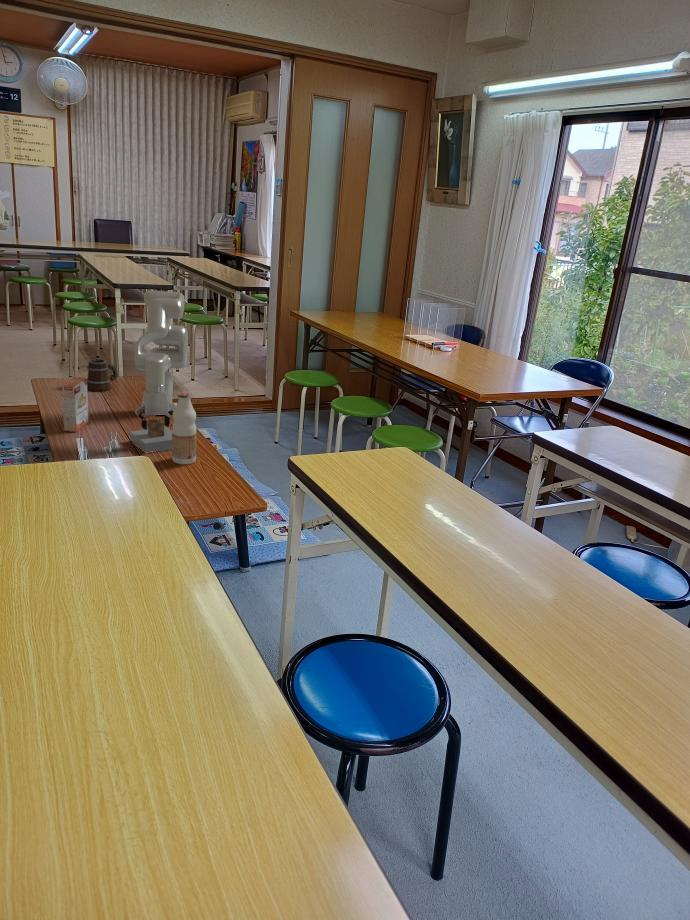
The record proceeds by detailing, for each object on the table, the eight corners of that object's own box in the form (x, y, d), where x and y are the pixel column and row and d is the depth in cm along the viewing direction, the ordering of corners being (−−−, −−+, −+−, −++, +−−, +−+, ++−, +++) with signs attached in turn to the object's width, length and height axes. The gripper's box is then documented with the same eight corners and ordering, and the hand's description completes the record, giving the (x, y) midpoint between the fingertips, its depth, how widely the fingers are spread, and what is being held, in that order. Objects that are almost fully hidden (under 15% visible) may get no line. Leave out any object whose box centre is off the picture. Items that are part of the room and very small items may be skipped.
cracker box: (77, 432, 291) (74, 385, 283) (63, 431, 291) (60, 384, 283) (89, 422, 304) (87, 377, 296) (76, 421, 304) (73, 376, 296)
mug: (90, 392, 345) (88, 364, 340) (84, 386, 354) (82, 358, 349) (121, 390, 354) (120, 362, 348) (114, 384, 363) (113, 357, 357)
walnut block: (159, 432, 287) (159, 418, 285) (164, 435, 284) (164, 422, 281) (147, 433, 284) (147, 420, 282) (152, 437, 281) (152, 424, 278)
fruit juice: (176, 466, 266) (176, 397, 256) (168, 457, 274) (168, 391, 264) (199, 463, 271) (200, 396, 261) (191, 455, 278) (191, 389, 268)
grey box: (166, 437, 296) (165, 426, 295) (181, 449, 285) (181, 438, 283) (130, 442, 287) (130, 431, 285) (145, 455, 275) (145, 443, 274)
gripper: (171, 383, 285) (171, 422, 291) (131, 387, 274) (132, 427, 281) (179, 388, 279) (179, 427, 285) (138, 392, 269) (139, 432, 275)
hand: (155, 427), depth 283 cm, fingers open, 9 cm apart
